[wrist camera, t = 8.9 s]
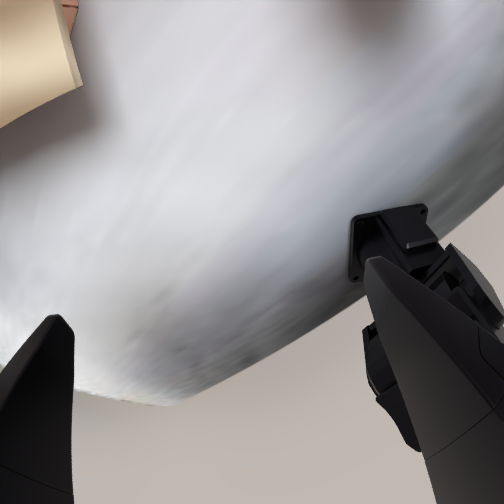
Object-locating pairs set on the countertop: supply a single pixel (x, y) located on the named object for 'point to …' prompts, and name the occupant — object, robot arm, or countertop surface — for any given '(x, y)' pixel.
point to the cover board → (34, 56)
